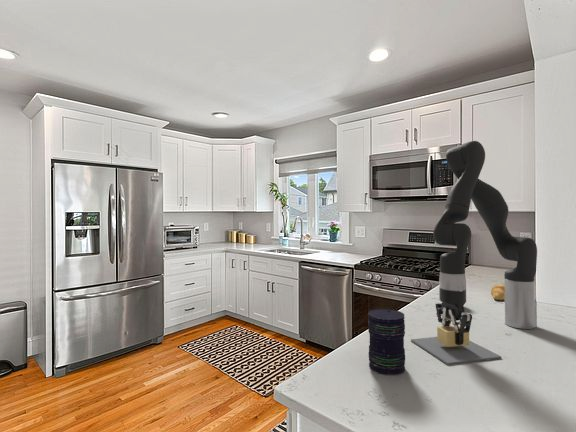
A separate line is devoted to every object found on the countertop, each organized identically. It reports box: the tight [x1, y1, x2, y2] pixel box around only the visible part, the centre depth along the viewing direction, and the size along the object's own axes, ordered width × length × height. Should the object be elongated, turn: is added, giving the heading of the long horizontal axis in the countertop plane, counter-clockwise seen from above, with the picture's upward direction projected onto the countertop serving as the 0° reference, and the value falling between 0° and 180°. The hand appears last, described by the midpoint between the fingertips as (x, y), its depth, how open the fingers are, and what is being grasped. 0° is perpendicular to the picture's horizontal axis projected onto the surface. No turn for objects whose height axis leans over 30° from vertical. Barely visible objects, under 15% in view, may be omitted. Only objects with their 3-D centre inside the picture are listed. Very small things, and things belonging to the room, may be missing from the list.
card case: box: [436, 325, 470, 347], centre depth 104 cm, size 5×8×4 cm, turn 98°
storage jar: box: [367, 308, 406, 376], centre depth 92 cm, size 10×10×15 cm
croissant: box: [490, 283, 505, 301], centre depth 165 cm, size 21×10×8 cm, turn 131°
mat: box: [410, 336, 502, 366], centre depth 104 cm, size 18×18×1 cm
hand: (453, 340), depth 104 cm, fingers closed on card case, 4 cm apart
